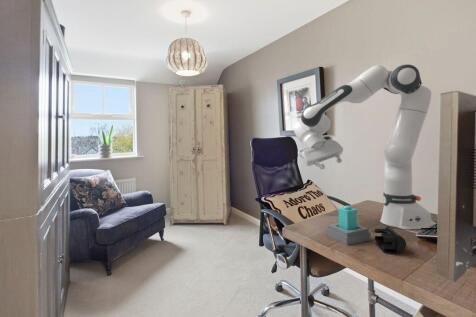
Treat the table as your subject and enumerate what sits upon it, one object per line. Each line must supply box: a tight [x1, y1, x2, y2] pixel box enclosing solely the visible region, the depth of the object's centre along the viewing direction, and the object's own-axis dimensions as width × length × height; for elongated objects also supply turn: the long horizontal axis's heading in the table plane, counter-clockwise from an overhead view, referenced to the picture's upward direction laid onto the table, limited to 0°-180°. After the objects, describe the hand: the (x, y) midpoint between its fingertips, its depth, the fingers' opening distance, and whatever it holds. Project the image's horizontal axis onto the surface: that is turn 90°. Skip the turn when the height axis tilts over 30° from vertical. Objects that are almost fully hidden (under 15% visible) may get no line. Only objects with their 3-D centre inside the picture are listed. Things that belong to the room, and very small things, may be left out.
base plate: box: [325, 222, 372, 246], centre depth 108 cm, size 12×12×4 cm
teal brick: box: [337, 205, 358, 231], centre depth 108 cm, size 5×5×10 cm
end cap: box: [374, 226, 407, 255], centre depth 96 cm, size 10×7×7 cm
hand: (331, 165), depth 121 cm, fingers open, 8 cm apart
